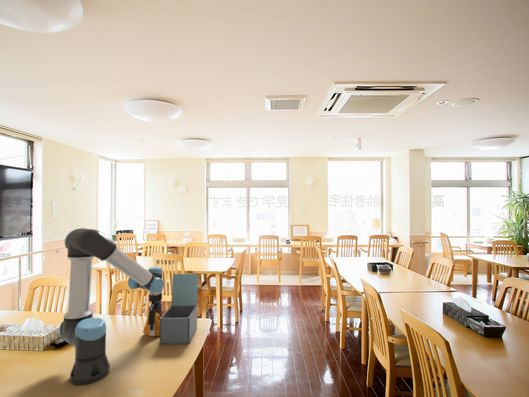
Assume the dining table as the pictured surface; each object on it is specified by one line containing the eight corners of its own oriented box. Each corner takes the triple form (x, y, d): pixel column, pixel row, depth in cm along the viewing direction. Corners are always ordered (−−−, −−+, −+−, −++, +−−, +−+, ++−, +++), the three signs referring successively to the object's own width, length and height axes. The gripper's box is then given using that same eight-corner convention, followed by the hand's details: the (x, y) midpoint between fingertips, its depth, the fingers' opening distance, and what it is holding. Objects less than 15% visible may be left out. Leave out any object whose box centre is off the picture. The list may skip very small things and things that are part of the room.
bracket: (166, 331, 169) (166, 311, 169) (158, 337, 162) (158, 316, 162) (151, 329, 172) (152, 309, 173) (143, 334, 165) (143, 314, 166)
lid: (198, 273, 178) (198, 273, 179) (172, 274, 178) (173, 273, 178) (196, 305, 174) (197, 305, 175) (171, 305, 174) (171, 305, 175)
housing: (189, 343, 154) (189, 318, 154) (159, 344, 153) (159, 318, 154) (196, 328, 174) (197, 305, 174) (170, 328, 173) (171, 305, 174)
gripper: (155, 299, 157) (155, 340, 157) (167, 288, 179) (167, 324, 178) (141, 299, 157) (141, 340, 156) (155, 288, 179) (155, 324, 178)
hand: (155, 331), depth 167 cm, fingers closed on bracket, 9 cm apart
